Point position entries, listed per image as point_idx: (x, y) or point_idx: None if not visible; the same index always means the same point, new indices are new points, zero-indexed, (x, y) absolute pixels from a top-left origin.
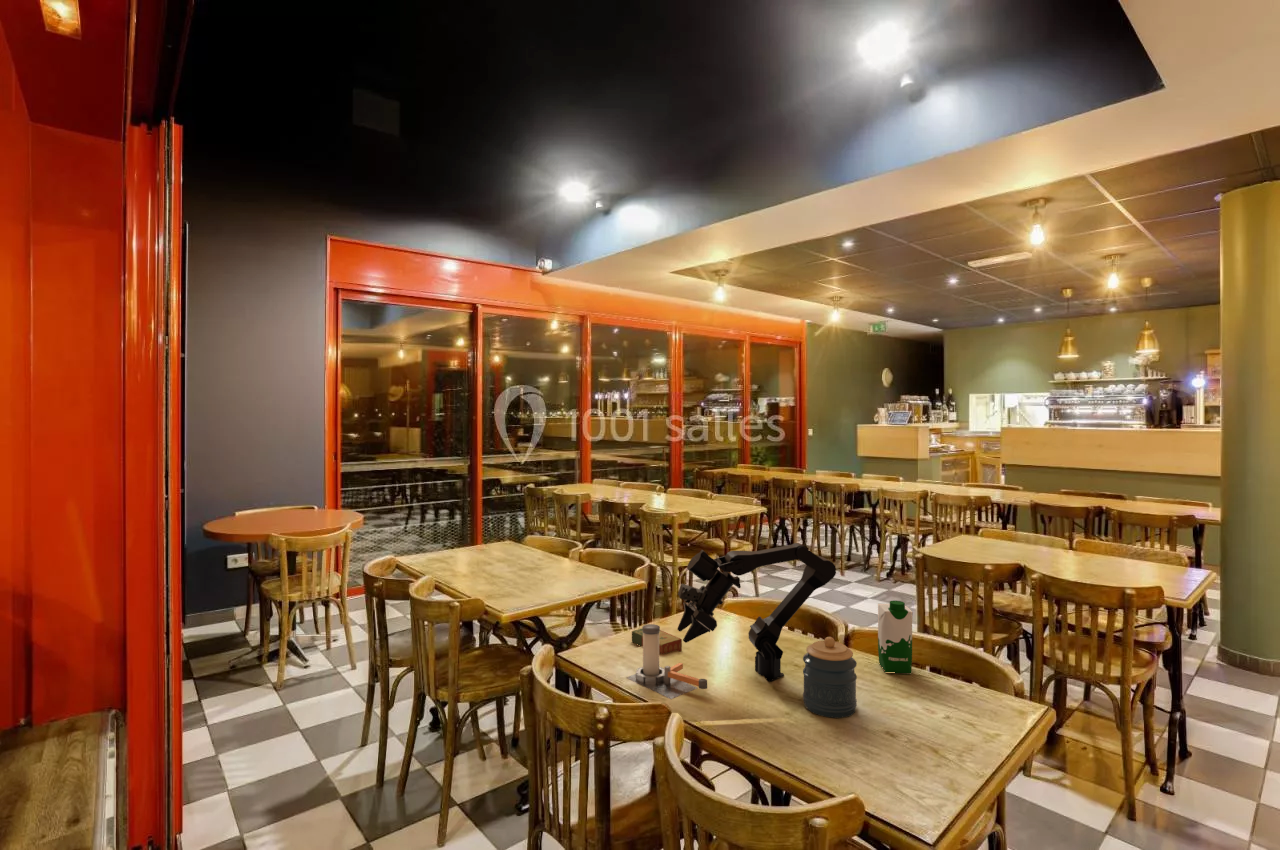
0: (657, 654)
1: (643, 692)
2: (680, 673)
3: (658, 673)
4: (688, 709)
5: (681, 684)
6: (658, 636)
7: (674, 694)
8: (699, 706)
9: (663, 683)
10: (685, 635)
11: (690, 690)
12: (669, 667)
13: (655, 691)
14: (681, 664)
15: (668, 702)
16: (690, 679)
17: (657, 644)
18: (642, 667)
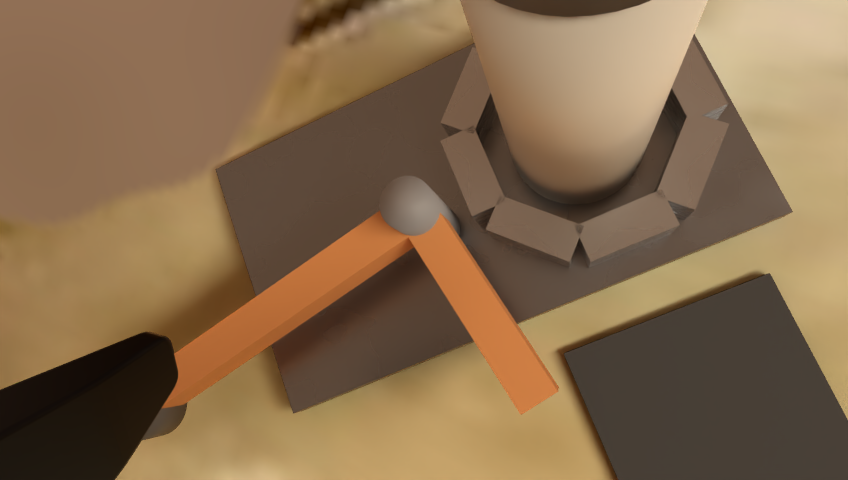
0: (497, 101)
1: (413, 48)
2: (321, 296)
3: (526, 174)
4: (115, 241)
5: (385, 321)
6: (483, 13)
7: (262, 213)
8: (119, 319)
9: (447, 199)
10: (74, 376)
11: (276, 342)
12: (394, 219)
13: (349, 107)
14: (507, 392)
15: (231, 159)
16: (206, 333)
17: (482, 49)
18: (694, 74)
